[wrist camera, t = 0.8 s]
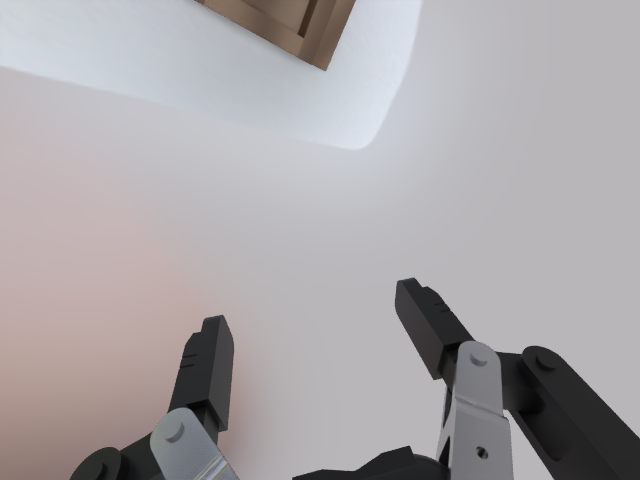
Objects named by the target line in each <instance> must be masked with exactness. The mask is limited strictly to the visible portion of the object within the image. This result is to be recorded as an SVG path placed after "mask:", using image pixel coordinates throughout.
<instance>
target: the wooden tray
mask: <svg viewBox="0 0 640 480" xmlns="http://www.w3.org/2000/svg"><path fill="white" fill-rule="evenodd" d="M195 1H197V2H199V3H201V4H202V5H204V6H206V7H208V8H210V9H211V10H213V11H215V12H217V13H219V14H220V15H222V16H224V17H226V18H228V19H230V20H231V21H233V22H235V23H237V24H239V25H240V26H242V27H244V28H246V29H248V30H249V31H251V32H253V33H255V34H257V35H259V36H260V37H262V38H264V39H266V40H268V41H269V42H271V43H273V44H275V45H277V46H278V47H280V48H282V49H284V50H286V51H288V52H289V53H291V54H293V55H295V56H297V57H298V58H300V59H302V60H304V61H306V62H307V63H309V64H311V65H312V64H313V65H315V66H317V67H318V68H320V69H322V70H324V71H326V70H327V67H328V65H329V63H330V60H331V58H332V56H333V53H334V51H335V48H336V46H337V44H338V41H339V39H340V36H341V34H342V32H343V29H344V27H345V25H346V22H347V20H348V17H349V15H350V13H351V10H352V8H353V5H354V3H355V1H356V0H195Z"/></svg>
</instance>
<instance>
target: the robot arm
mask: <svg viewBox="0 0 640 480" xmlns="http://www.w3.org/2000/svg"><path fill="white" fill-rule="evenodd" d="M395 309H396V312H397V315H398V317H399V319H400V321H401V322H402V324H403V326H404V328H405V329H406V331H407V333H408V335H409V336H410V338H411V340H412V342H413V344H414V346H415V347H416V349H417V351H418V353H419V355H420V356H421V358H422V360H423V362H424V364H425V365H426V367H427V369H428V371H429V373H430V374H431V376H432V378H433V380H437V379H441V378H443V380H444V381H445V383H446V389H445V398H444V407H443V415H442V424H441V433H440V438H439V442H438V447H437V453H436V460H434V459H432V458H429V457H426V456H422V455H418V454H413V453H412V450H411V447H410V446H406V447H402V448H399V449H395V450H392V451H388V452H384V453H381V454H380V455H379V456H377V457H376V458H374V459H372V460H371V461H370V462H368V463H367V464H365V465H364V466H362V467H361V468H360V469H358V470H356V471H341V470H324V469H322V470H318V471H315V472H311V473H307V474H304V475H300V476H296V477H293V478H292V480H514V479H513V464H512V449H511V435H510V434H511V433H510V424H509V421H508V419H507V418H506V417H504V415H503V409H505V410H508V411H509V412H510V414H511V415H512V417H513V418H514V420H515V421H516V423H517V424H518V425H519V427H520V429H521V430H522V432H523V433H524V435H525V436H526V438H527V439H528V440H529V442H530V444H531V445H532V447H533V448H534V450H535V451H536V453H537V454H538V456H539V457H540V459H541V460H542V462H543V463H544V465H545V466H546V468H547V469H548V471H549V472H550V474H551V475H552V477H553V478H554V480H640V438H639V437H638V436H637V435H636V434H635V433H634V432H633V431H632V430H631V429H630V428H629V427H628V426H627V425H626V424H625V423H624V422H623V421H622V420H621V419H620V418H619V417H618V415H616V413H614V411H613V410H612V409H611V408H610V407H609V406H608V405H607V404H606V403H605V402H604V401H603V400H602V399H601V398H600V397H599V396H598V395H597V394H596V393H595V392H594V391H593V390H592V388H590V387H589V385H588V384H587V383H586V382H585V381H584V380H583V379H582V378H581V377H580V376H579V375H578V374H577V373H576V372H575V371H574V370H573V369H572V368H571V367H570V366H569V365H568V364H567V363H566V362H565V360H563V359H562V358H561V357H560V356H559V355H558V354H556V353H555V352H553V351H551V350H549V349H547V348H544V347H540V346H529V347H527V348H525V349H524V351H523V353H522V354H514V353H502V352H496V351H494V350H493V349H491V348H490V347H489V346H487V345H485V344H483V343H481V342H477V341H475V340H474V339H473V337H472V336H471V335H470V334H469V332H468V331H467V330H466V329H465V327H464V326H463V325H462V324H461V322H460V321H459V320H458V318H457V317H456V316H455V315H454V313H453V312H452V311H450V308H449V307H448V306H447V305H446V304H445V302H444V301H443V299H442V298H441V297H440V296H439V295H438V293H436V292H435V291H434V290H432V289H430V288H429V287H428V286H427V287H422V286H421V285H420V284H419V283H418V281H417V280H416V279H415V278H409V279H405V280H399V281H398V282H397V287H396V297H395ZM233 355H234V342H233V337H232V334H231V332H230V329H229V327H228V325H227V322H226V320H225V317H224V316H223V315H219V316H214V317H209V318H205V319H204V321H203V325H202V329H201V332H198V333H193V334H192V336H191V337H190V339H189V340H188V342H187V343H186V345H185V348H184V352H183V356H182V360H181V364H180V369H179V371H178V375H177V379H176V383H175V387H174V391H173V395H172V398H171V402H170V406H169V409H168V412H167V414H166V415H165V416H164V417H163V418H162V419H161V420H160V421H159V422H158V423H157V425H156V426H155V428H154V430H153V431H152V432H151V433H150V434H148V435H147V436H145V437H143V438H142V439H140V440H138V441H137V442H135V443H133V444H131V445H129V446H127V447H126V448H124V449H122V450H120V451H119V450H117V449H116V448H113V447H106V448H102V449H100V450H98V451H96V452H94V453H93V454H91V455H90V456H88V457H87V458H86V459H85V460H84V461H83V462H82V463H81V464H80V465H79V466H78V467H77V469H76V470H75V471H74V473H73V474H72V476H71V478H70V480H240V479H239V478H238V476H237V475H236V474H235V472H234V471H233V469H232V468H231V466H230V465H229V463H228V462H227V460H226V459H225V457H224V456H223V454H222V453H221V451H220V450H219V448H218V447H217V441H218V432H222V431H226V430H227V429H228V417H229V405H230V393H231V381H232V368H233Z"/></svg>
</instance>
